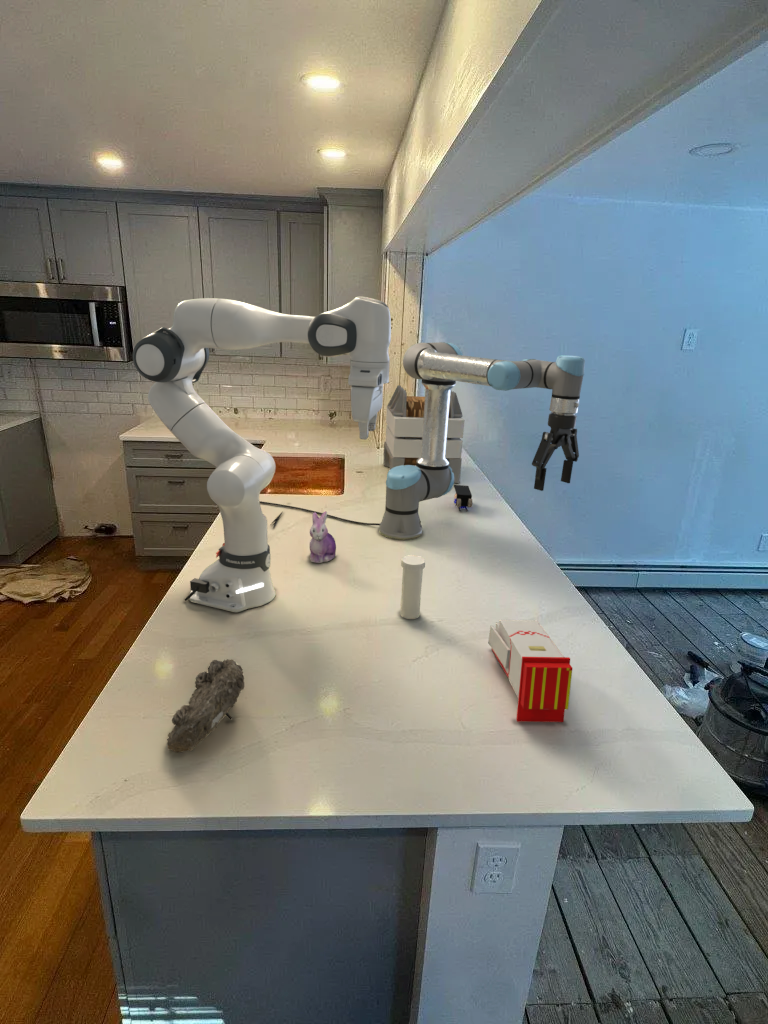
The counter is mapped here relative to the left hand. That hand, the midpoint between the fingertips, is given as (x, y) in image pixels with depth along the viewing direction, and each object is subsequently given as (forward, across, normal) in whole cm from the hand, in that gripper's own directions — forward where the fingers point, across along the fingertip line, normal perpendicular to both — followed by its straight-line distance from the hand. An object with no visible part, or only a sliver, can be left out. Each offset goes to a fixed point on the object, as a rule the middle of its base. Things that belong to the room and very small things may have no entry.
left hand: (367, 434), depth 132 cm
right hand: (+19, -36, +49) cm, 63 cm away
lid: (+32, -1, +12) cm, 34 cm away
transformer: (+47, -136, +2) cm, 144 cm away
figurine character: (+47, -91, +24) cm, 105 cm away
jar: (+47, -1, +12) cm, 48 cm away
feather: (+47, -62, -43) cm, 89 cm away
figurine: (+47, -30, -18) cm, 58 cm away
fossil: (+47, +46, -20) cm, 69 cm away
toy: (+47, +21, +39) cm, 65 cm away
